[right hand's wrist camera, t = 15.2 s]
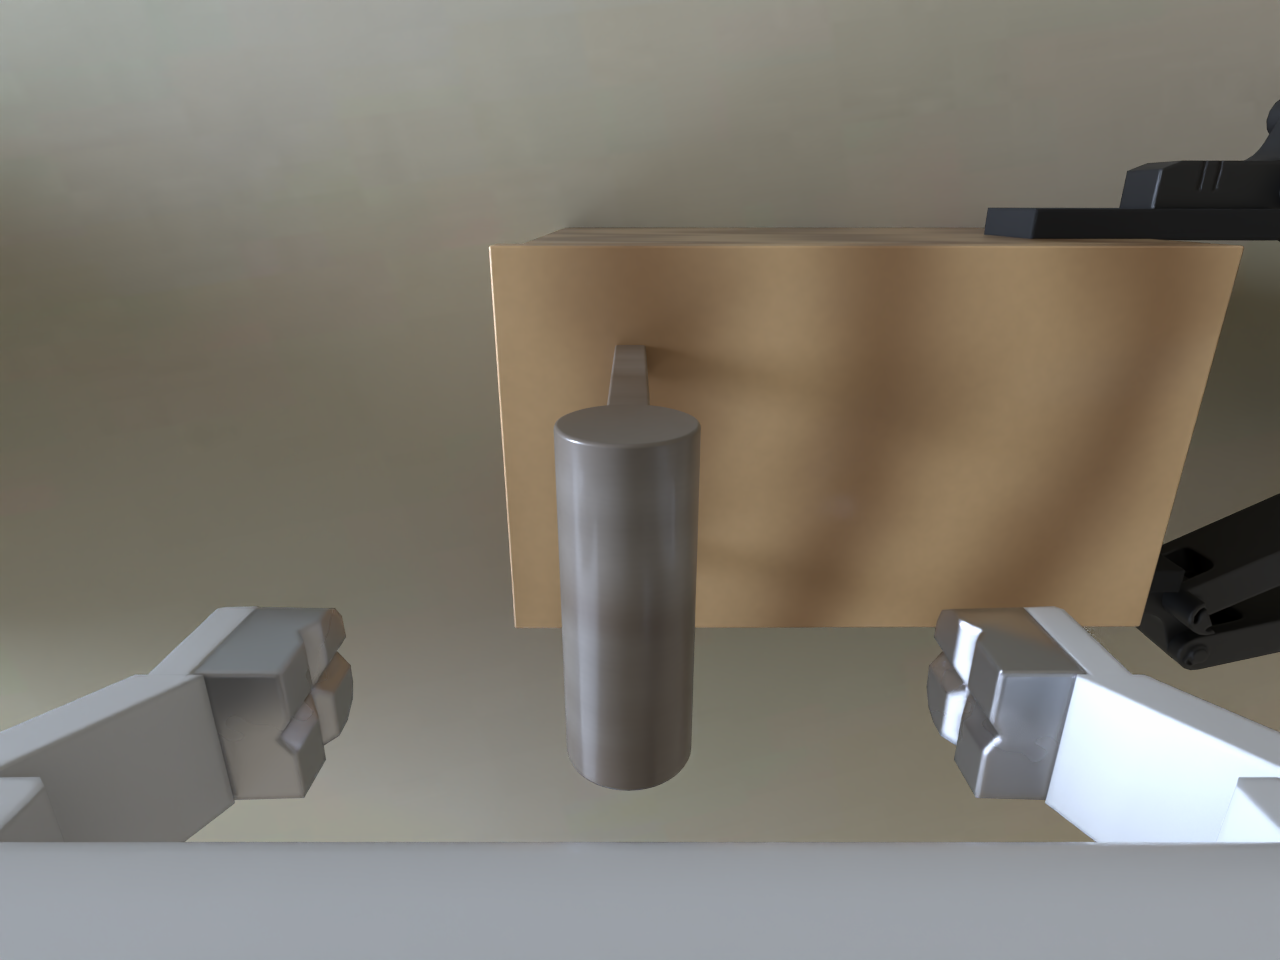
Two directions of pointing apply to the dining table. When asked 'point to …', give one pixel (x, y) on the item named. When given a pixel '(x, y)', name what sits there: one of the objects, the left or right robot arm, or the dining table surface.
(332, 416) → the dining table surface
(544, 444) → the lid
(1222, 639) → the left robot arm
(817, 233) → the chest
